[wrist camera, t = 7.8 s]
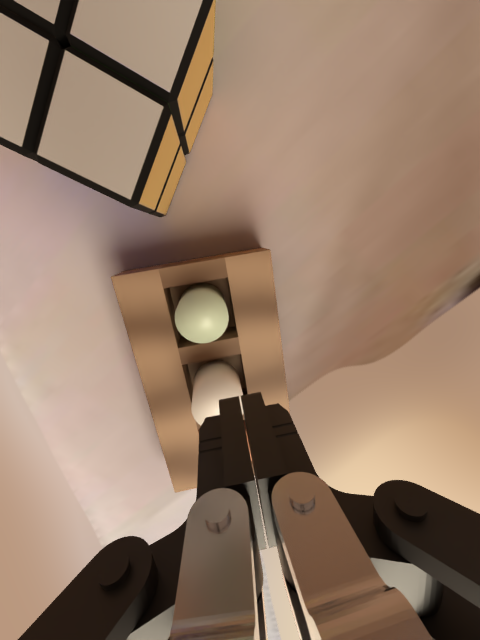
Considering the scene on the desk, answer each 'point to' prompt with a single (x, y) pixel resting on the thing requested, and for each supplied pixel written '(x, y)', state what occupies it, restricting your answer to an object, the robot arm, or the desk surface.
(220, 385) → the cream white egg
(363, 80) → the desk surface
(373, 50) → the desk surface
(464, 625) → the robot arm
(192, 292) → the pale green piece
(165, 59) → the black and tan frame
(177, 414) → the wooden egg rack
